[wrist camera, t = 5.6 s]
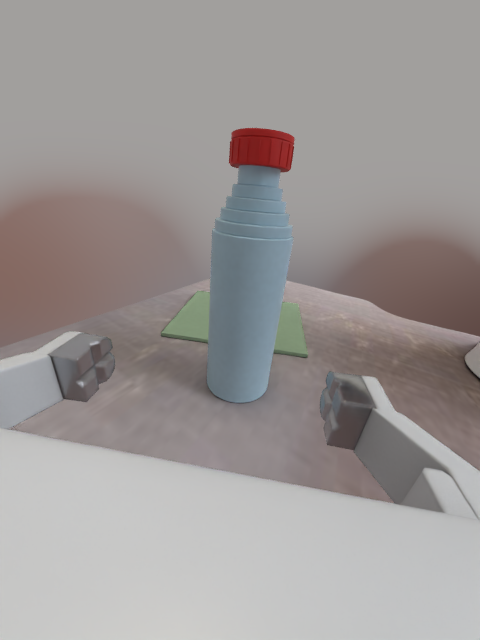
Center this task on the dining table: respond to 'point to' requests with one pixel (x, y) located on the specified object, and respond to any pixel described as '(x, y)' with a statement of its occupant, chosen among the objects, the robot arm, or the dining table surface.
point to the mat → (196, 325)
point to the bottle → (247, 284)
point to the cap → (261, 148)
